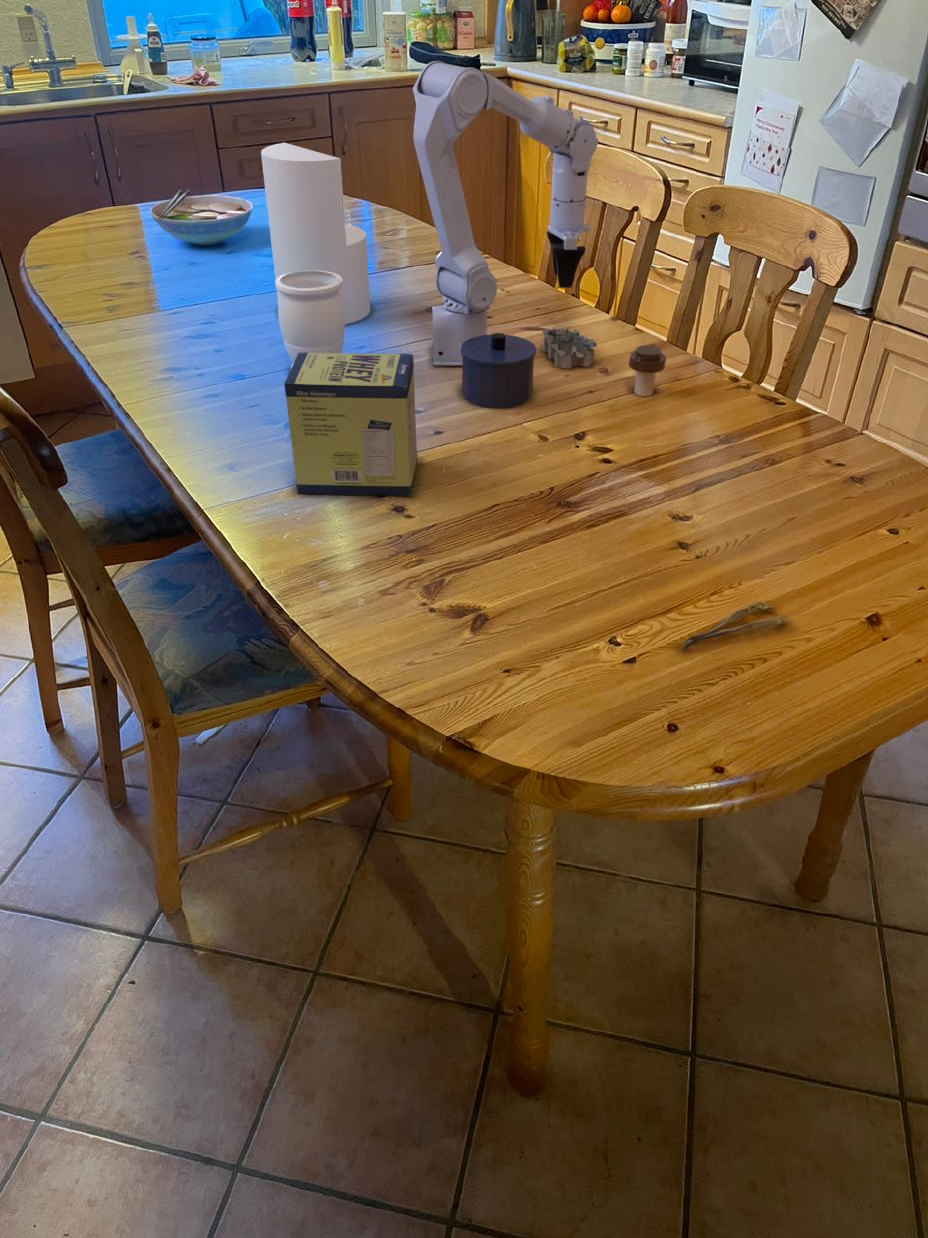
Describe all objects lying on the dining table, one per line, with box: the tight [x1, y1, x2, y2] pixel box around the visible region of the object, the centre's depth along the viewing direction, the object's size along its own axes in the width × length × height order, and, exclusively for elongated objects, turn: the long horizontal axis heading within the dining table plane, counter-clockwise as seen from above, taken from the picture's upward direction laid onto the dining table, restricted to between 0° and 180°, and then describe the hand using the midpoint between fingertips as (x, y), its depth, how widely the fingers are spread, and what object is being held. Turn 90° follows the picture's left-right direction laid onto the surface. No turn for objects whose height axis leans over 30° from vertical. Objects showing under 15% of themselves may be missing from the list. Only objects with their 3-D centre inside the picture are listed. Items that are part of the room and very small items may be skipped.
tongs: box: [681, 601, 788, 652], centre depth 101 cm, size 4×13×2 cm, turn 122°
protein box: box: [283, 352, 418, 497], centre depth 124 cm, size 10×16×16 cm
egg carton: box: [541, 327, 598, 370], centre depth 162 cm, size 11×8×4 cm
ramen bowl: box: [149, 189, 253, 247], centre depth 215 cm, size 25×23×8 cm
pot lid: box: [460, 332, 537, 366], centre depth 146 cm, size 12×12×3 cm
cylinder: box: [260, 142, 371, 325], centre depth 173 cm, size 17×17×28 cm
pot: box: [461, 356, 535, 409], centre depth 149 cm, size 11×11×7 cm
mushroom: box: [628, 345, 667, 397], centre depth 150 cm, size 6×6×7 cm
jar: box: [274, 270, 346, 369], centre depth 154 cm, size 11×10×15 cm
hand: (562, 280), depth 167 cm, fingers open, 6 cm apart
